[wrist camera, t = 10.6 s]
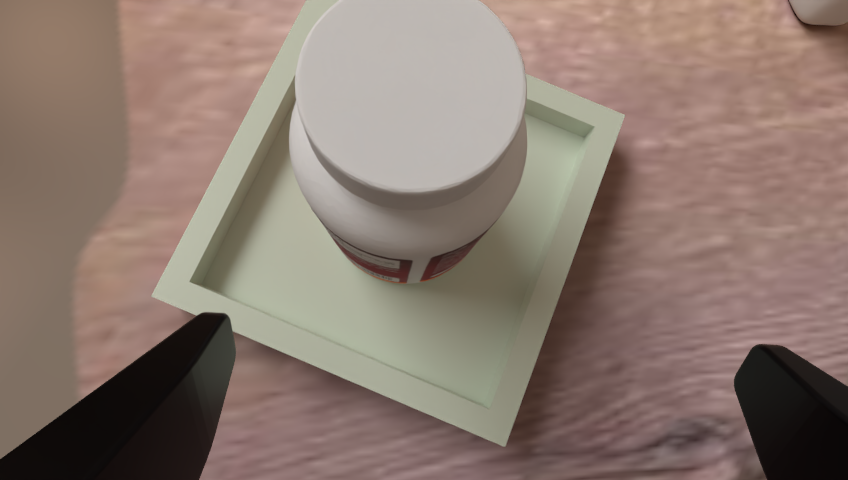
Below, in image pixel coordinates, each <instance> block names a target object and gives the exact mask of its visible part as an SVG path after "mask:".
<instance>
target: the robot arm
mask: <svg viewBox="0 0 848 480" xmlns="http://www.w3.org/2000/svg"><path fill="white" fill-rule="evenodd" d="M235 356H236V348H235V342H234V337H233V331H232V326H231V320H230V317H229V316H228V315H227V314H226V313H217V312H203V313H200V314H199V315H197V316H196V317H194V318H193V319H192V320H190V321H189V322H188V323H186V324H185V325H183V326H182V327H181V328H179V329H178V330H177V331H175V332H174V333H172V334H171V335H170V336H168V337H167V338H166V339H164V340H163V341H162V342H160V343H159V344H157V345H156V346H155V347H153V348H152V349H151V350H149V351H148V352H146V353H145V354H144V355H142V356H141V357H140V358H138V359H137V360H135V361H134V362H133V363H131V364H130V365H129V366H127V367H126V368H125V369H123V370H122V371H120V372H119V373H118V374H116V375H115V376H114V377H112V378H111V379H109V380H108V381H107V382H105V383H104V384H103V385H101V386H100V387H99V388H97V389H96V390H94V391H93V392H92V393H90V394H89V395H88V396H86V397H85V398H83V399H82V400H81V401H79V402H78V403H77V404H75V405H74V406H73V407H71V408H70V409H68V410H67V411H66V412H64V413H63V414H62V415H60V416H59V417H57V418H56V419H55V420H53V421H52V422H51V423H49V424H48V425H46V426H45V427H44V428H42V429H41V430H40V431H38V432H37V433H36V434H34V435H33V436H32V437H30V438H29V439H27V440H26V441H25V442H23V443H22V444H21V445H19V446H18V447H16V448H15V449H14V450H13V451H11V452H10V453H8V454H7V455H5V456H4V457H3V458H1V459H0V480H199V478H200V476H201V473H202V471H203V468H204V466H205V463H206V461H207V458H208V455H209V452H210V449H211V447H212V443H213V440H214V436H215V433H216V429H217V426H218V422H219V418H220V414H221V411H222V407H223V403H224V400H225V396H226V392H227V388H228V385H229V381H230V377H231V373H232V370H233V366H234V362H235ZM734 388H735V392H736V395H737V397H738V400H739V403H740V406H741V409H742V412H743V415H744V417H745V420H746V423H747V426H748V429H749V432H750V435H751V438H752V440H753V443H754V446H755V449H756V452H757V455H758V458H759V460H760V463H761V466H762V468H763V471H764V474H765V476H766V478H767V480H848V386H846V385H844V384H843V383H841V382H840V381H838V380H836V379H835V378H833V377H832V376H830V375H828V374H827V373H825V372H824V371H822V370H821V369H819V368H817V367H816V366H814V365H813V364H811V363H809V362H808V361H806V360H805V359H803V358H801V357H800V356H798V355H797V354H795V353H794V352H792V351H790V350H789V349H787V348H785V347H783V346H780V345H767V344H759V345H756V346H754V347H753V348H752V349H751V350H750V352H749V354H748V355H747V357H746V359H745V360H744V362H743V363H742V365H741V367H740V368H739V370H738V372H737V373H736V375H735V379H734Z"/></svg>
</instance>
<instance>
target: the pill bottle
mask: <svg viewBox="0 0 848 480" xmlns="http://www.w3.org/2000/svg"><path fill="white" fill-rule="evenodd" d="M295 96H296V102H295V105H294V109H293V112H292V117H291V122H290V132H289V150H290V157H291V163H292V167H293V171H294V175H295V178H296V180H297V182H298V185H299V187H300V189H301V192H302V194H303V195H304V197H305V199H306V201H307V202H308V204H309V205H310V207H311V209H312V210H313V212H314V213H315V215H316V216H317V217H318V219H319V220H320V222H321V223H322V225H323V226H324V227H325V228H326V230H327V231H328V233H329V234H330V236H331V237H332V239H333V240H334V241H335V243H336V244H337V246H338V247H339V248H340V250H341V251H342V253H343V254H344V255H345V256H346V257H347V258H348V259H349V260H350V261H351V262H352V263H353V264H354V265H355V266H356V267H357V268H359V269H360V270H362V271H363V272H365V273H367V274H369V275H370V276H373V277H375V278H377V279H380V280H383V281H387V282H391V283H399V284H412V283H419V282H425V281H429V280H431V279H434V278H436V277H438V276H440V275H442V274H444V273H446V272H447V271H449V270H450V269H452V268H453V267H455V266H456V265H457V264H458V263H460V262H461V261H462V260H463V259H464V258H465V256H466V255H467V254H468V253H469V252H470V251H471V249H472V248H473V247H474V246H475V245H476V243H477V242H478V241H479V240H480V239H481V238H482V237H483V235H484V234H486V232H487V231H488V230H489V229H490V228H491V227H492V226H493V224H494V223H495V222H496V221H497V220H498V218H499V217H500V216H501V214H502V213H503V212H504V211H505V209H506V207H507V206H508V204H509V203H510V201H511V200H512V198H513V196H514V194H515V192H516V190H517V188H518V186H519V184H520V181H521V178H522V175H523V171H524V167H525V162H526V156H527V128H526V121H525V117H524V114H525V109H526V101H527V80H526V74H525V67H524V63H523V60H522V57H521V54H520V51H519V48H518V46H517V44H516V42H515V40H514V39H513V37H512V35H511V34H510V32H509V31H508V29H507V28H506V26H505V25H504V24H503V22H502V21H501V20H500V19H499V18H498V17H497V16H496V15H495V14H494V13H493V12H492V11H491V10H490V9H489V8H488V7H487V6H486V5H484V4H483V3H482V2H480V1H479V0H339V1H338V2H336V3H335V4H334V5H333V6H331V7H330V8H329V9H328V10H327V11H326V12H325V13H324V14H323V15H322V16H321V17H320V18H319V20H318V21H317V22H316V23H315V25H314V26H313V28H312V29H311V31H310V32H309V34H308V36H307V38H306V40H305V42H304V44H303V46H302V49H301V52H300V55H299V59H298V63H297V68H296V74H295Z"/></svg>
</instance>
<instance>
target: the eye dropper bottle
mask: <svg viewBox="0 0 848 480" xmlns="http://www.w3.org/2000/svg"><path fill="white" fill-rule="evenodd" d="M789 2H790V4H791V6H792V8H793V10H794V12H795V14H796V15H797V17H798V18H799V19H800V20H801V21H802V22H804V23H807V24H813V25H829V26H838V25H842V24H845V23H847V22H848V0H789Z"/></svg>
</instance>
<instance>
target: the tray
mask: <svg viewBox="0 0 848 480" xmlns="http://www.w3.org/2000/svg"><path fill="white" fill-rule="evenodd" d="M338 1H339V0H306V2H305V4H304V5H303V7H302V9H301V11H300V13H299V15H298V17H297V19H296V21H295V23H294V25H293V27H292V28H291V30H290V32H289V34H288V36H287V38H286V40H285V42H284V44H283V46H282V48H281V49H280V51H279V53H278V55H277V57H276V59H275V61H274V63H273V65H272V67H271V69H270V70H269V72H268V74H267V76H266V78H265V80H264V82H263V84H262V86H261V88H260V90H259V91H258V93H257V95H256V97H255V99H254V101H253V103H252V105H251V107H250V109H249V111H248V112H247V114H246V116H245V118H244V120H243V122H242V124H241V126H240V128H239V130H238V132H237V133H236V135H235V137H234V139H233V141H232V143H231V145H230V147H229V149H228V151H227V153H226V154H225V156H224V158H223V160H222V162H221V164H220V166H219V168H218V170H217V172H216V174H215V175H214V177H213V179H212V181H211V183H210V185H209V187H208V189H207V191H206V193H205V195H204V196H203V198H202V200H201V202H200V204H199V206H198V208H197V210H196V212H195V214H194V216H193V217H192V219H191V221H190V223H189V225H188V227H187V229H186V231H185V233H184V235H183V237H182V238H181V240H180V242H179V244H178V246H177V248H176V250H175V252H174V254H173V256H172V258H171V259H170V261H169V263H168V265H167V267H166V269H165V271H164V273H163V275H162V277H161V279H160V280H159V282H158V284H157V286H156V288H155V290H154V292H153V294H152V297H154V298H156V299H159V300H161V301H163V302H166V303H168V304H170V305H173V306H175V307H177V308H180V309H182V310H184V311H187V312H189V313H192V314H194V315H196V316H197V315H199V314H200V313H203V312H217V313H226V314H227V315H228V316H229V317H230V320H231V326H232V331H234V332H236V333H238V334H241V335H243V336H245V337H248V338H250V339H252V340H255V341H257V342H260V343H262V344H264V345H267V346H269V347H271V348H274V349H276V350H278V351H281V352H283V353H285V354H288V355H290V356H292V357H295V358H297V359H299V360H302V361H304V362H306V363H309V364H311V365H313V366H316V367H318V368H320V369H323V370H325V371H328V372H330V373H332V374H335V375H337V376H339V377H342V378H344V379H346V380H349V381H351V382H353V383H356V384H358V385H360V386H363V387H365V388H367V389H370V390H372V391H374V392H377V393H379V394H381V395H384V396H386V397H388V398H391V399H393V400H396V401H398V402H400V403H403V404H405V405H407V406H410V407H412V408H414V409H417V410H419V411H421V412H424V413H426V414H428V415H431V416H433V417H435V418H438V419H440V420H442V421H445V422H447V423H449V424H452V425H454V426H456V427H459V428H461V429H463V430H466V431H468V432H471V433H473V434H475V435H478V436H480V437H482V438H485V439H487V440H489V441H492V442H494V443H496V444H499V445H501V446H503V447H505V446H506V443H507V441H508V438H509V435H510V432H511V429H512V427H513V424H514V421H515V418H516V416H517V413H518V410H519V407H520V405H521V402H522V399H523V396H524V393H525V391H526V388H527V385H528V382H529V380H530V377H531V374H532V371H533V369H534V366H535V363H536V360H537V357H538V355H539V352H540V349H541V346H542V344H543V341H544V338H545V335H546V333H547V330H548V327H549V324H550V322H551V319H552V316H553V313H554V310H555V308H556V305H557V302H558V299H559V297H560V294H561V291H562V288H563V286H564V283H565V280H566V277H567V274H568V272H569V269H570V266H571V263H572V261H573V258H574V255H575V252H576V250H577V247H578V244H579V241H580V238H581V236H582V233H583V230H584V227H585V225H586V222H587V219H588V216H589V214H590V211H591V208H592V205H593V202H594V200H595V197H596V194H597V191H598V189H599V186H600V183H601V180H602V178H603V175H604V172H605V169H606V167H607V164H608V161H609V158H610V155H611V153H612V150H613V147H614V144H615V142H616V139H617V136H618V133H619V131H620V128H621V125H622V122H623V119H624V117H625V115H624V114H621V113H619V112H616V111H614V110H612V109H609V108H607V107H604V106H602V105H600V104H597V103H595V102H592V101H590V100H588V99H585V98H583V97H580V96H578V95H576V94H573V93H571V92H568V91H566V90H564V89H561V88H559V87H556V86H554V85H552V84H549V83H547V82H544V81H542V80H540V79H537V78H535V77H532V76H530V75H528V74H526V80H527V101H526V109H525V114H524V117H525V121H526V128H527V156H526V162H525V167H524V171H523V175H522V178H521V181H520V184H519V186H518V188H517V190H516V192H515V194H514V196H513V198H512V200H511V201H510V203H509V204H508V206H507V207H506V209H505V211H504V212H503V213H502V214H501V216H500V217H499V218H498V220H497V221H496V222H495V223H494V224H493V226H492V227H491V228H490V229H489V230H488V231H487V232H486V234H484V235H483V237H482V238H481V239H480V240H479V241H478V242H477V243H476V245H475V246H474V247H473V248H472V249H471V251H470V252H469V253H468V254H467V255H466V256H465V258H464V259H463V260H462V261H461V262H460V263H458V264H457V265H456V266H455V267H453V268H452V269H450V270H449V271H447V272H446V273H444V274H442V275H440V276H438V277H436V278H434V279H431V280H429V281H425V282H419V283H412V284H399V283H391V282H387V281H383V280H380V279H377V278H375V277H373V276H370V275H369V274H367V273H365V272H363V271H362V270H360V269H359V268H357V267H356V266H355V265H354V264H353V263H352V262H351V261H350V260H349V259H348V258H347V257H346V256H345V255H344V254H343V253H342V251H341V250H340V248H339V247H338V246H337V244H336V243H335V241H334V240H333V239H332V237H331V236H330V234H329V233H328V231H327V230H326V228H325V227H324V226H323V225H322V223H321V222H320V220H319V219H318V217H317V216H316V215H315V213H314V212H313V210H312V209H311V207H310V205H309V204H308V202H307V201H306V199H305V197H304V195H303V194H302V192H301V189H300V187H299V185H298V182H297V180H296V178H295V175H294V171H293V167H292V163H291V157H290V150H289V132H290V122H291V117H292V112H293V109H294V105H295V102H296V96H295V74H296V68H297V63H298V59H299V55H300V52H301V49H302V46H303V44H304V42H305V40H306V38H307V36H308V34H309V32H310V31H311V29H312V28H313V26H314V25H315V23H316V22H317V21H318V20H319V18H320V17H321V16H322V15H323V14H324V13H325V12H326V11H327V10H328V9H329V8H330V7H331V6H333V5H334V4H335V3H336V2H338Z"/></svg>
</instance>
